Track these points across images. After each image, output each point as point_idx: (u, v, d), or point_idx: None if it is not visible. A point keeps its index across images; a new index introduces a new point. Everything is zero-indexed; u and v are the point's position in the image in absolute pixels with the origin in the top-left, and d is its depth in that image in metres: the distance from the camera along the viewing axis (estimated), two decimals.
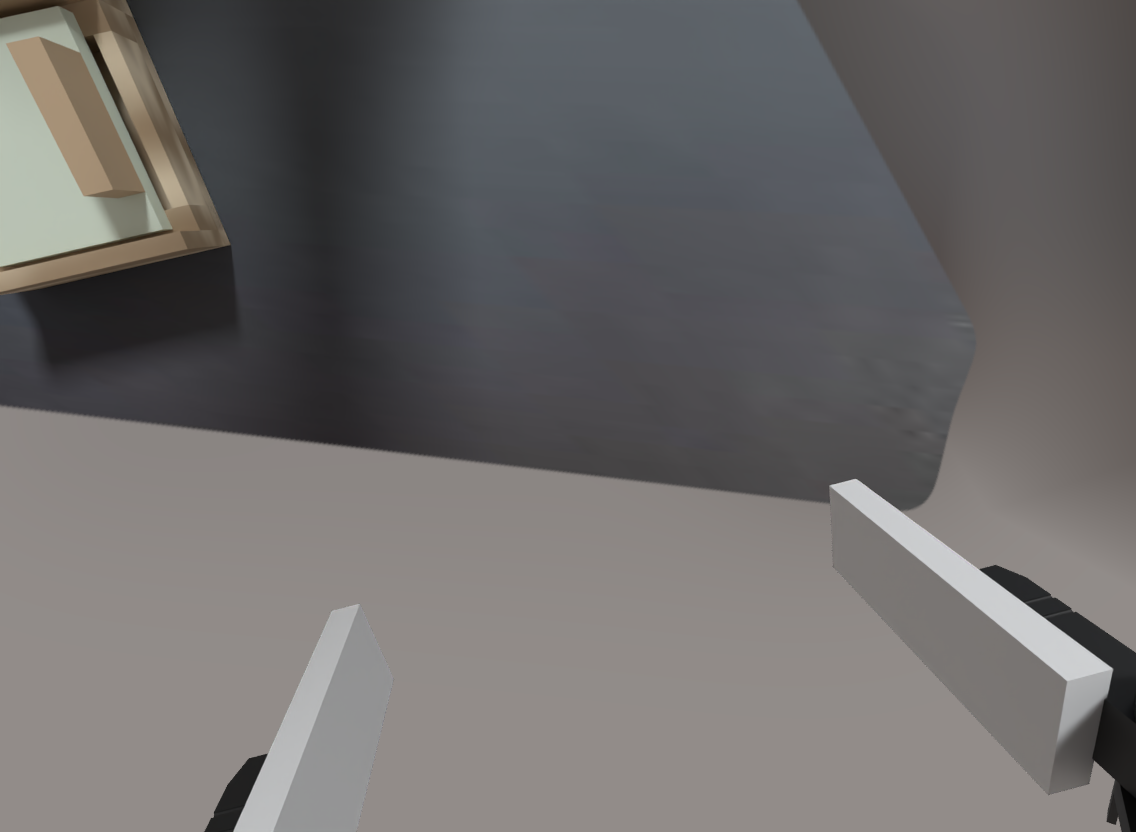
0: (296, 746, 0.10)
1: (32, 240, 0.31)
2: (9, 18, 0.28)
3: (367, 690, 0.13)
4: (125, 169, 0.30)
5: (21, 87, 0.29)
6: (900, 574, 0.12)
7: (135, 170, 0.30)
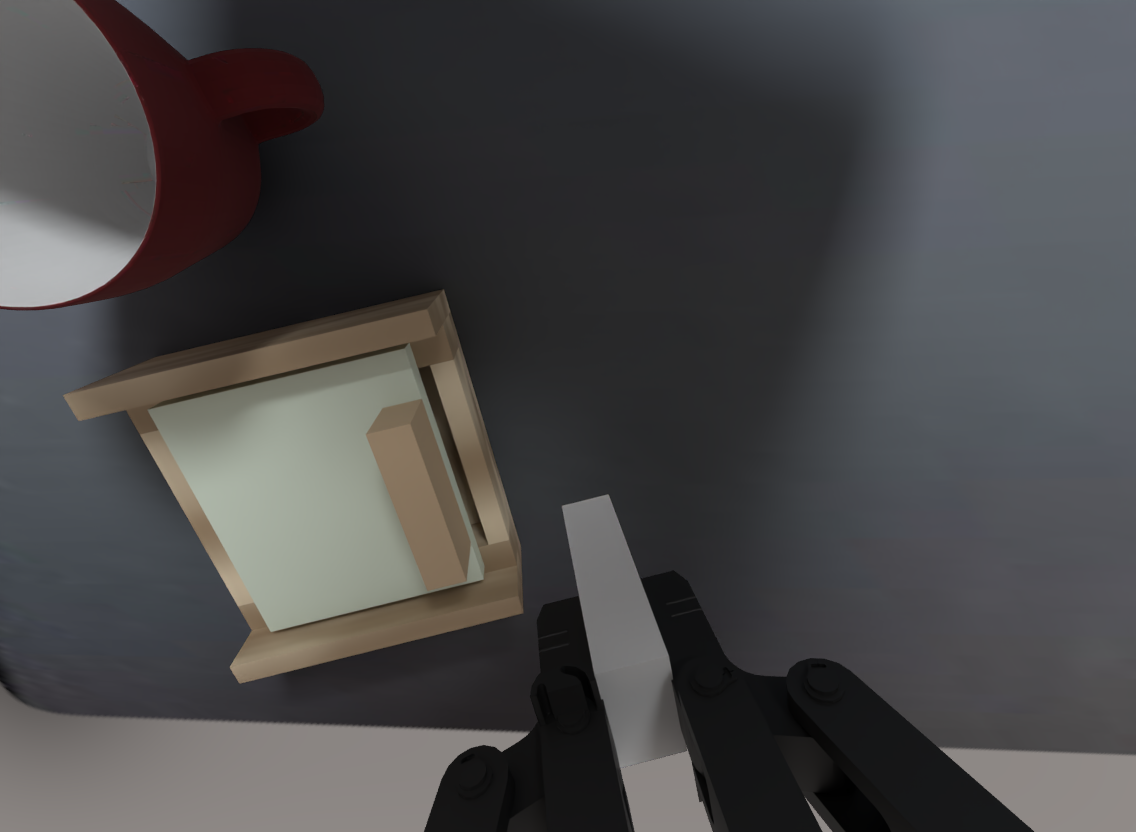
0: (600, 585, 0.13)
1: (322, 600, 0.24)
2: (339, 365, 0.20)
3: None
4: (462, 531, 0.23)
5: (339, 441, 0.21)
6: None
7: (463, 520, 0.23)
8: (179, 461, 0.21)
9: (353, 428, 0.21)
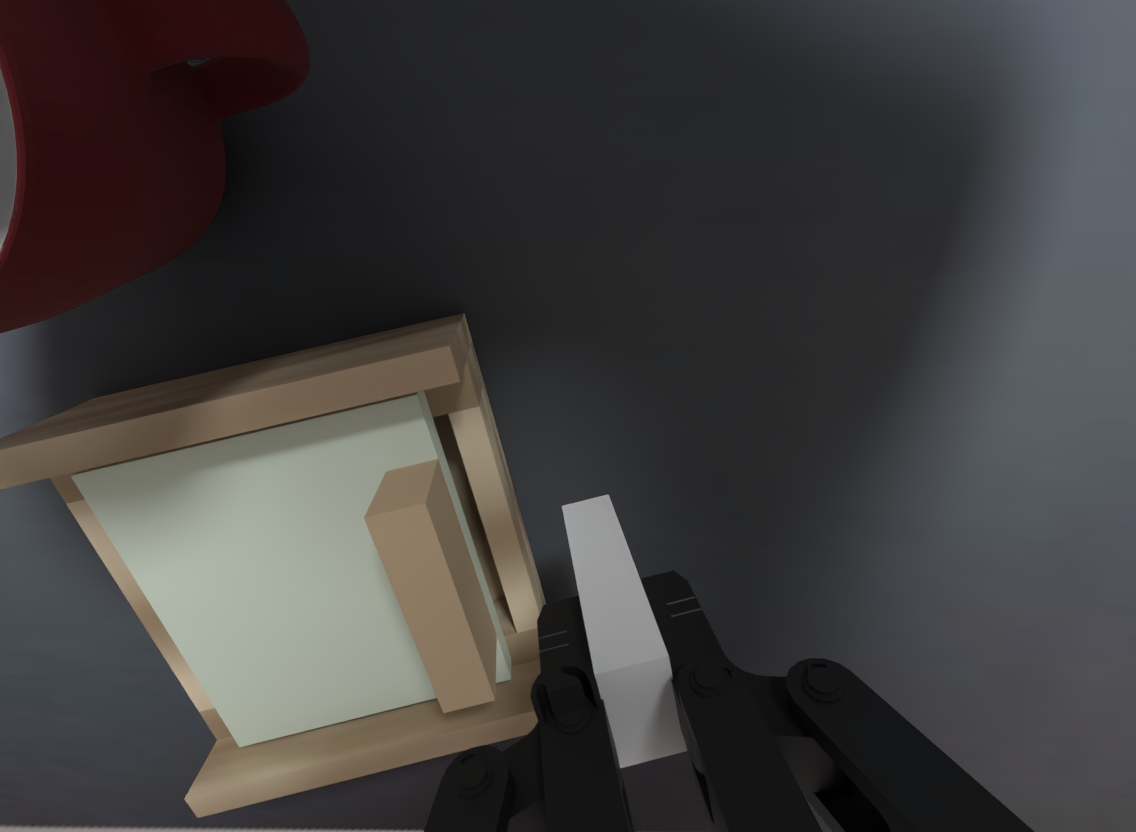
0: (600, 585, 0.13)
1: (305, 708, 0.19)
2: (328, 417, 0.15)
3: None
4: (487, 626, 0.17)
5: (329, 513, 0.16)
6: None
7: (488, 609, 0.18)
8: (116, 541, 0.16)
9: (347, 496, 0.16)
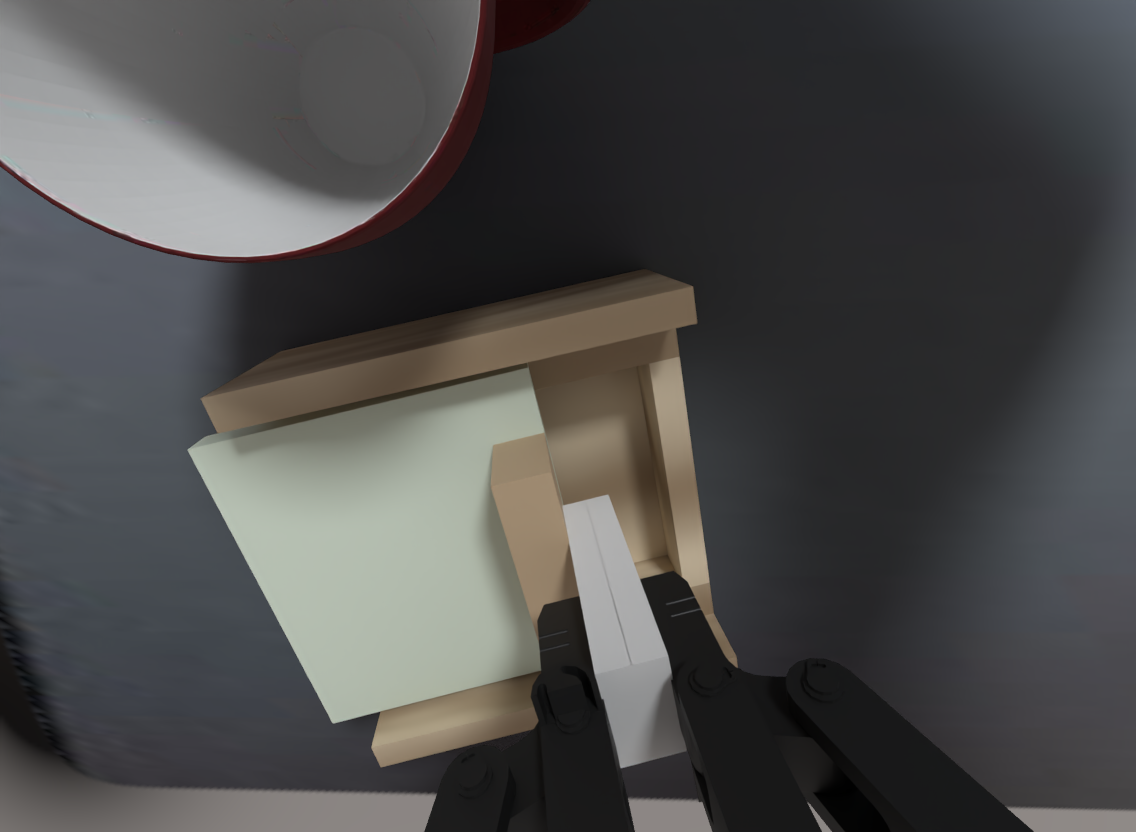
0: (600, 585, 0.13)
1: (399, 684, 0.19)
2: (441, 390, 0.15)
3: None
4: None
5: (435, 487, 0.16)
6: None
7: None
8: (227, 515, 0.16)
9: (454, 471, 0.16)
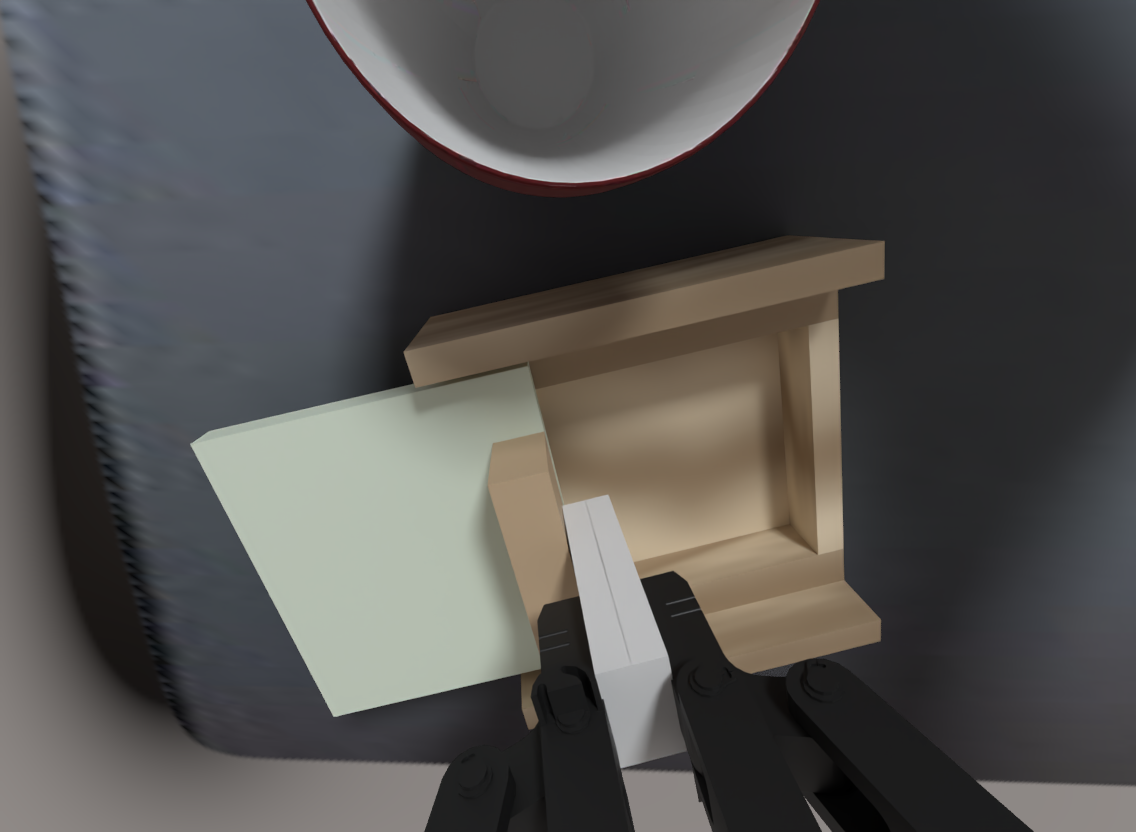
0: (600, 585, 0.13)
1: (399, 679, 0.19)
2: (440, 388, 0.15)
3: None
4: None
5: (435, 485, 0.16)
6: None
7: None
8: (229, 509, 0.16)
9: (453, 468, 0.16)
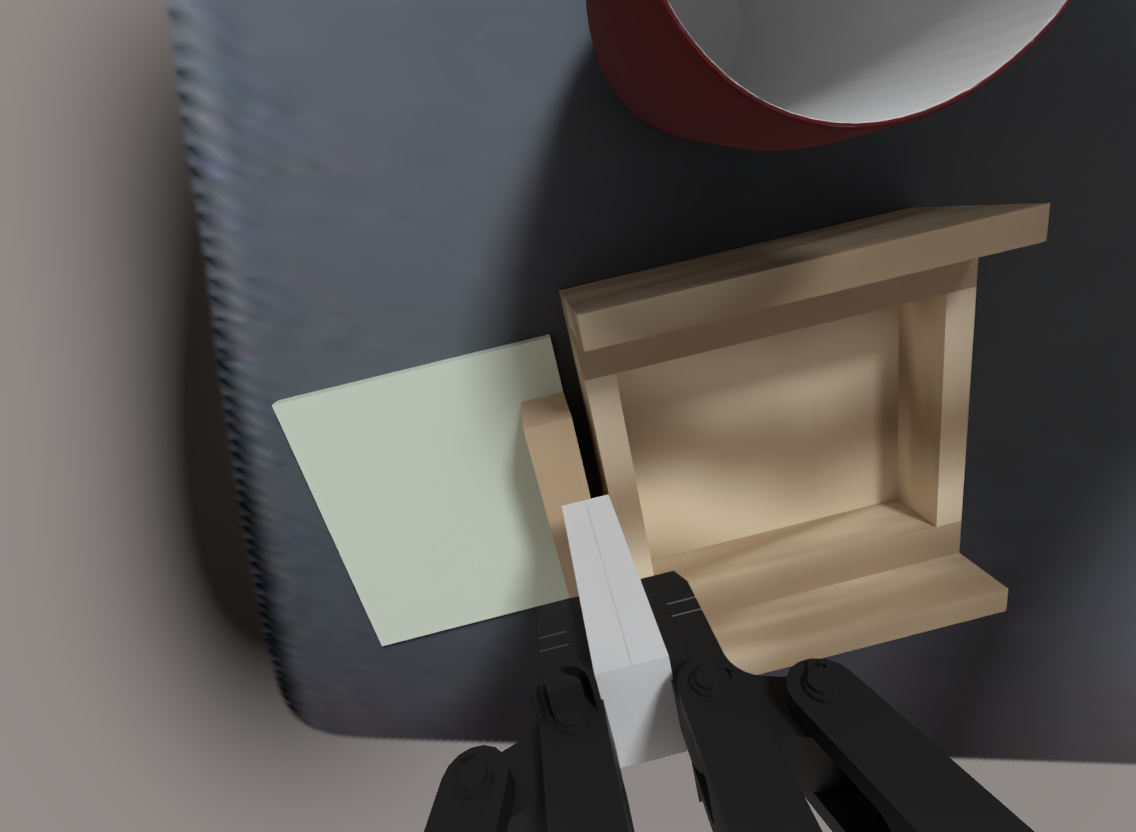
0: (600, 585, 0.13)
1: (438, 611, 0.22)
2: (478, 356, 0.19)
3: None
4: None
5: (472, 439, 0.20)
6: None
7: None
8: (301, 461, 0.19)
9: (488, 424, 0.20)
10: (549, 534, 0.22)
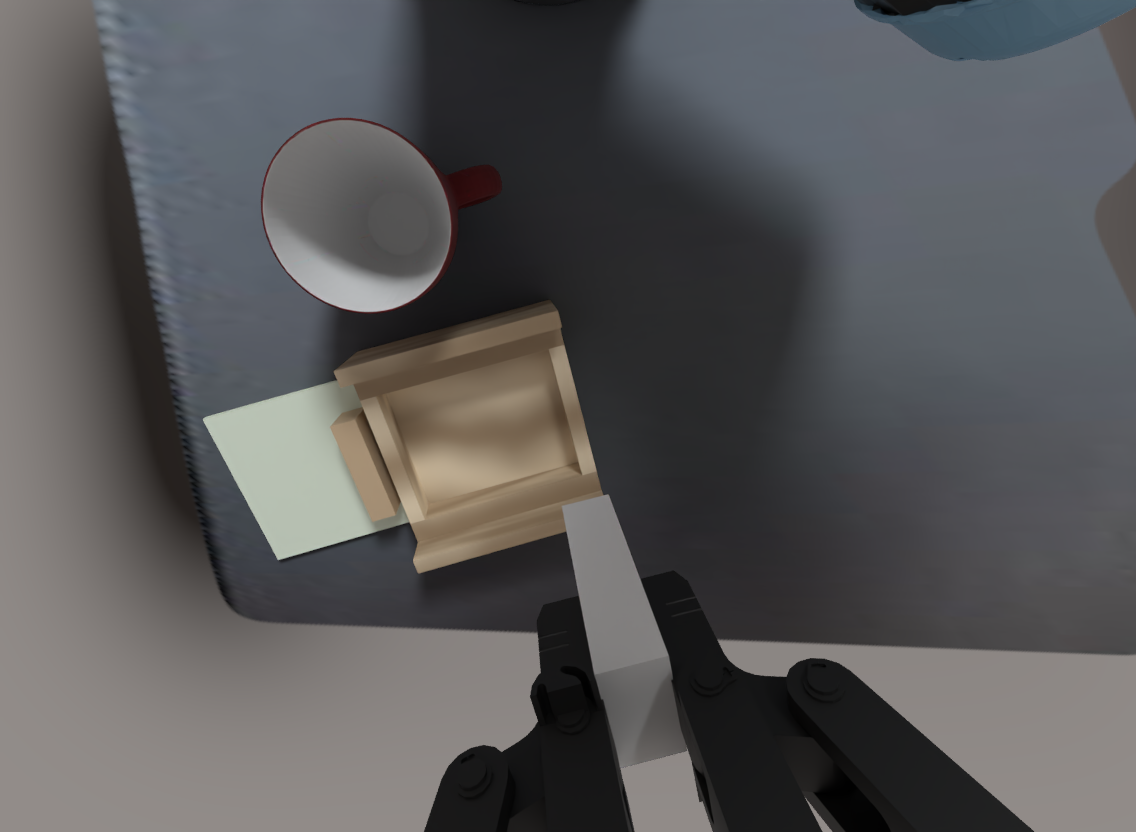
0: (600, 585, 0.13)
1: (310, 537, 0.38)
2: (314, 388, 0.35)
3: None
4: (394, 487, 0.37)
5: (317, 434, 0.36)
6: None
7: None
8: (221, 449, 0.35)
9: (325, 425, 0.35)
10: None
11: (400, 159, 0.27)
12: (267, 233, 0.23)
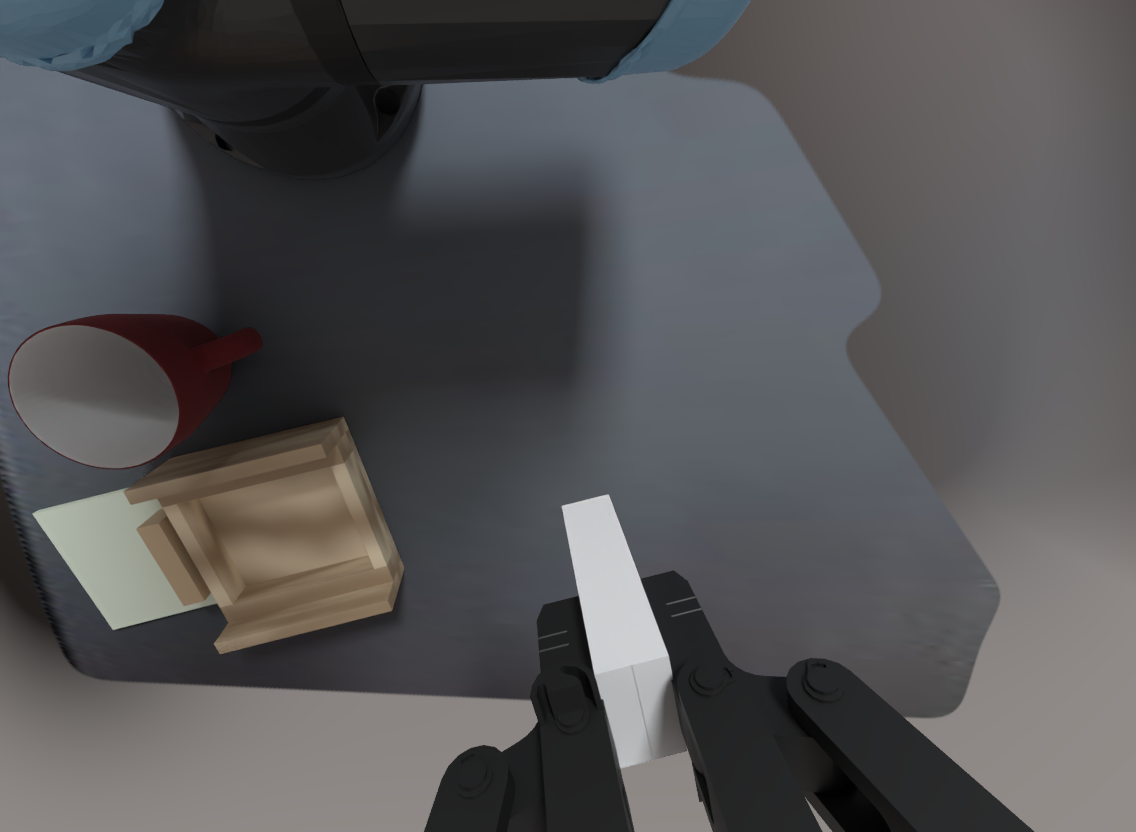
0: (600, 585, 0.13)
1: (140, 611, 0.43)
2: None
3: None
4: None
5: (138, 526, 0.40)
6: None
7: None
8: (52, 538, 0.40)
9: (144, 519, 0.40)
10: None
11: None
12: (16, 409, 0.27)
